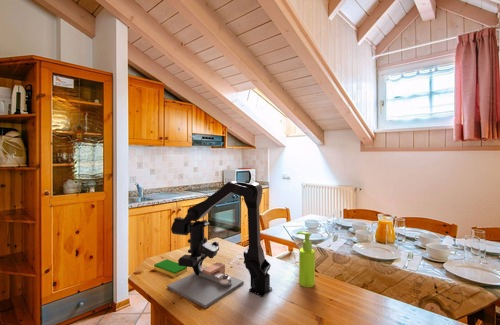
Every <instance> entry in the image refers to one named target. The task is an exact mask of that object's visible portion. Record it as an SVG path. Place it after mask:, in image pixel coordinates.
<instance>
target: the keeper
mask: <svg viewBox="0 0 500 325" xmlns="http://www.w3.org/2000/svg"><path fill="white" fill-rule="evenodd" d="M206 267H207V268H205V267H204V268H205V269H203V272H204V273H206V274H209V275H210V274H212V273H214V272H218V273H221V274H223V275H224V274H226V264H224V263H221V262H219V261H217V262H215V263H213V264H211V265H209V266H206Z"/></svg>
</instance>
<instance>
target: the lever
mask: <svg viewBox="0 0 500 325" xmlns="http://www.w3.org/2000/svg"><path fill="white" fill-rule="evenodd" d="M203 269H205V267H203V266H201V269H200V273H199V276H201V277H204V278H206V279H209V280H211V281H214V282H216V283H219V285H220V286H222V287H228V286H231V285H232V277H233V276H232V275H230V274H228V273H225V274H224V275H223V274H221V273H218V272H214V273H212V274H210V275H209V274H206V273H204V272H203ZM193 273H194V274H195V272H194V271H193Z"/></svg>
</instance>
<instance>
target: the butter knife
mask: <svg viewBox="0 0 500 325" xmlns="http://www.w3.org/2000/svg"><path fill="white" fill-rule="evenodd" d="M242 255H243V256H244V253H240V254H238V255H237V256H235V257H234V259H232V261H230V262H229V265H233V263H235V262H236V261H237V260H239V259H240V258H241V257H243V256H242Z"/></svg>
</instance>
